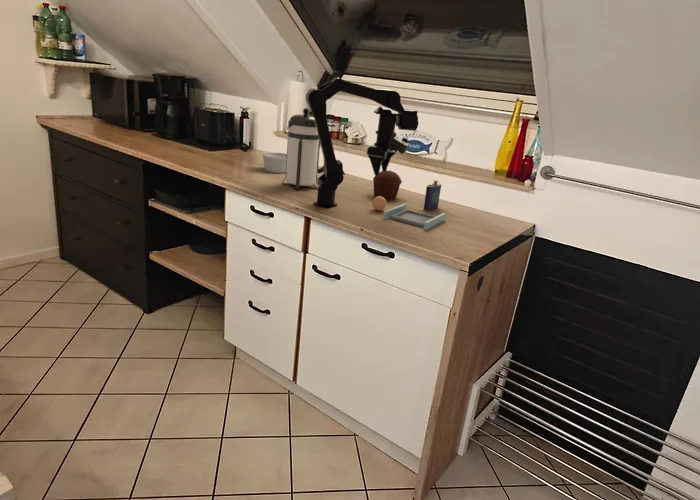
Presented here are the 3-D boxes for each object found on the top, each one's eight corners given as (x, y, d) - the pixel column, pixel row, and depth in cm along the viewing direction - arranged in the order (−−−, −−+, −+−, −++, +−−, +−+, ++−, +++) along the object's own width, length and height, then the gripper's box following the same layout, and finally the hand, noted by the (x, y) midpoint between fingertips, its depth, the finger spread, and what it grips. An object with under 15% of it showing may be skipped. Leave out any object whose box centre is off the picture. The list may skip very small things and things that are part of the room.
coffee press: (316, 193, 188) (323, 112, 177) (276, 187, 190) (280, 107, 180) (327, 184, 204) (334, 109, 193) (290, 178, 206) (295, 104, 196)
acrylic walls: (425, 230, 158) (427, 222, 157) (383, 218, 165) (384, 211, 164) (444, 220, 171) (445, 213, 170) (404, 210, 178) (405, 203, 177)
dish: (423, 227, 160) (423, 224, 160) (390, 218, 166) (391, 215, 166) (437, 220, 170) (437, 216, 170) (406, 212, 176) (406, 209, 175)
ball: (381, 213, 171) (383, 199, 170) (368, 209, 174) (370, 196, 172) (388, 210, 175) (389, 196, 174) (375, 207, 178) (377, 193, 176)
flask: (433, 205, 189) (437, 178, 185) (440, 207, 187) (444, 179, 183) (421, 209, 182) (426, 181, 178) (428, 211, 180) (433, 182, 176)
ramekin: (295, 169, 225) (296, 154, 222) (288, 175, 212) (289, 159, 210) (266, 166, 226) (267, 151, 223) (258, 171, 213) (259, 155, 211)
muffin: (390, 202, 187) (394, 176, 184) (365, 195, 192) (368, 170, 189) (404, 197, 197) (407, 172, 193) (380, 191, 202) (383, 167, 198)
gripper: (402, 134, 158) (395, 182, 163) (415, 129, 175) (408, 173, 180) (369, 129, 161) (363, 176, 167) (385, 125, 178) (379, 168, 183)
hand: (380, 173), depth 174 cm, fingers open, 9 cm apart
